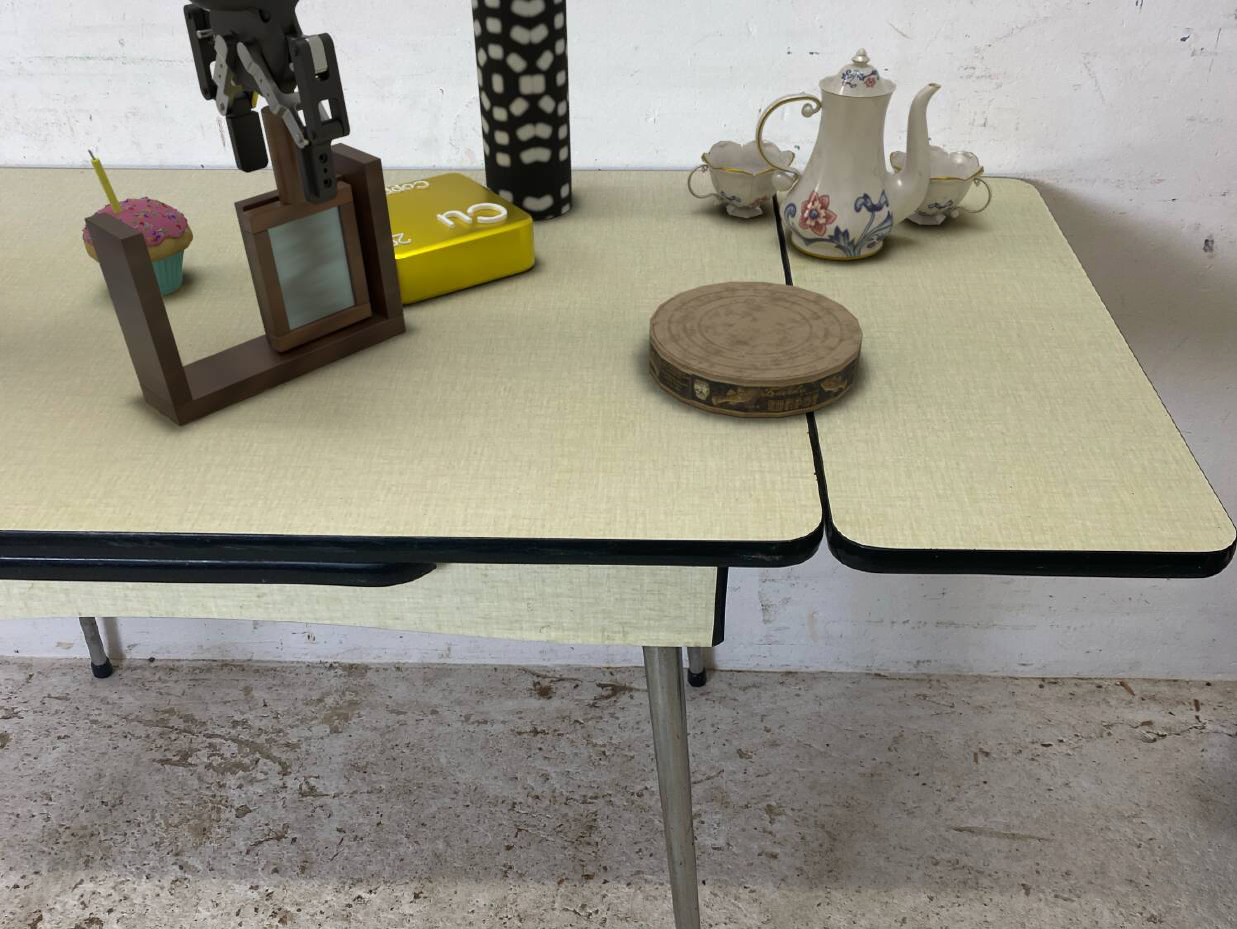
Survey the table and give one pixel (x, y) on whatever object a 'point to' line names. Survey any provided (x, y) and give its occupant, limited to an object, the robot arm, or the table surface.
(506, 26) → the spotted tube
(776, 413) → the brown flat banded disc
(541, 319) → the table surface
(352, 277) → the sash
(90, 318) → the table surface
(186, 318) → the table surface
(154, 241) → the cupcake
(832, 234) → the chinaware
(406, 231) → the element tile
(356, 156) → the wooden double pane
